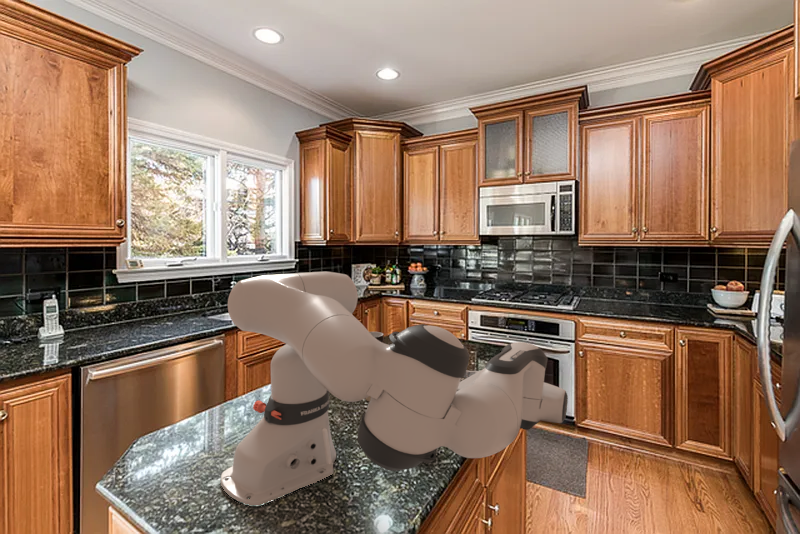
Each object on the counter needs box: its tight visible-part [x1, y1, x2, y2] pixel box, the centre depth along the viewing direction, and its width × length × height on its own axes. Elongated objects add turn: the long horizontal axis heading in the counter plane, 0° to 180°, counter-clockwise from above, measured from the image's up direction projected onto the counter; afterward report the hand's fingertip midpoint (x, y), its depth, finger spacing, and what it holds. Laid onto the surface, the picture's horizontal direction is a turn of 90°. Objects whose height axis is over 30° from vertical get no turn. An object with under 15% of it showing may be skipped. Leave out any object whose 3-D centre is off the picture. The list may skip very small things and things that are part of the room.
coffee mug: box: [369, 331, 384, 343], centre depth 144 cm, size 12×9×10 cm
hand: (455, 378), depth 107 cm, fingers open, 8 cm apart
